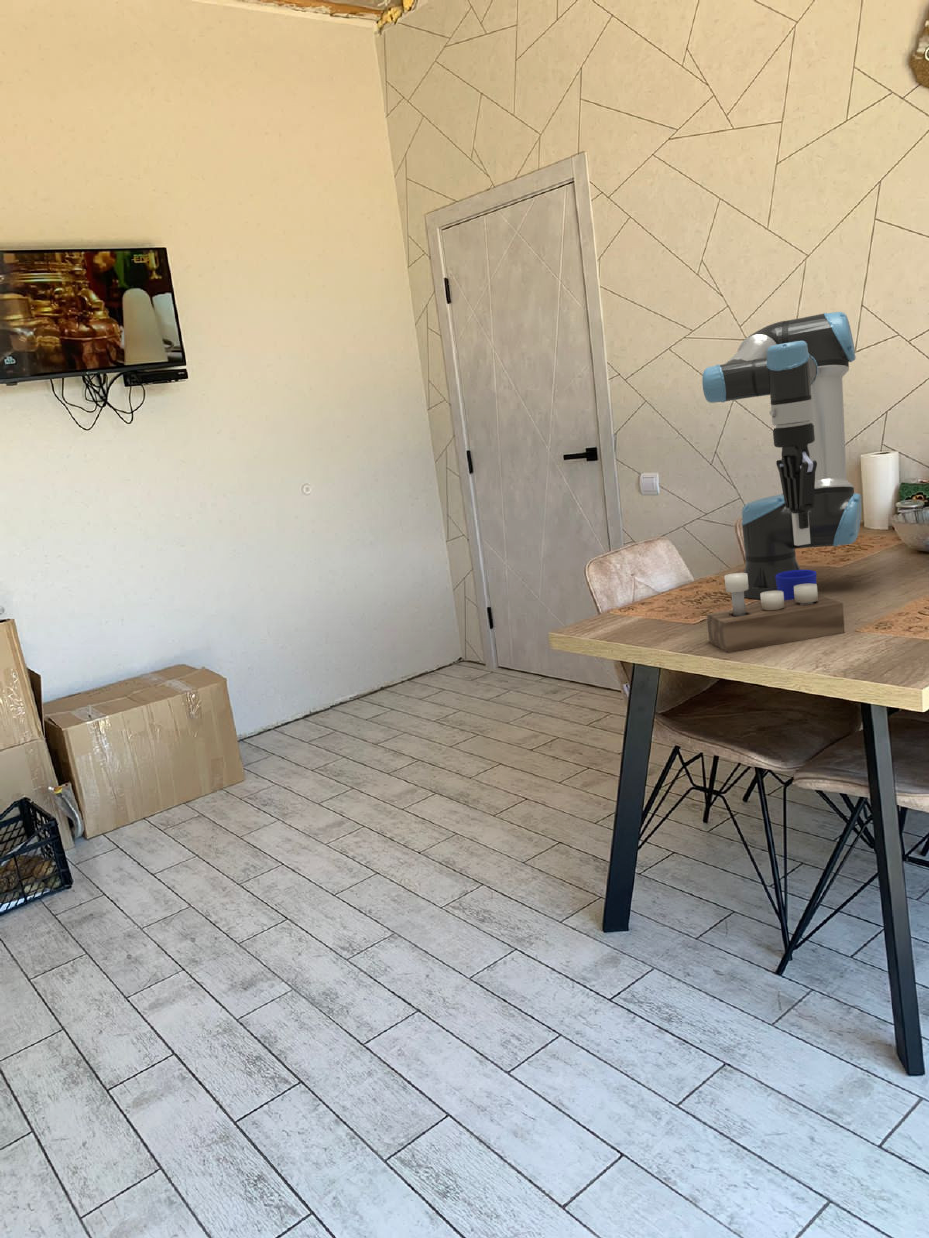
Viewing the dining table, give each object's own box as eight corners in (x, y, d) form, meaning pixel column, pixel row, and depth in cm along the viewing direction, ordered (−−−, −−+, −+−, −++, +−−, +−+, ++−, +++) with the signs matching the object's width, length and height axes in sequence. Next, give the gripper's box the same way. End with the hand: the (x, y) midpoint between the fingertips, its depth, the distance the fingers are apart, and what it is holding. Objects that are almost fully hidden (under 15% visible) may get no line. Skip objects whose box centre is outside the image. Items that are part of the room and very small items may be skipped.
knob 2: (760, 634, 191) (756, 593, 189) (781, 630, 191) (777, 589, 189) (769, 638, 186) (765, 596, 185) (790, 634, 187) (787, 592, 185)
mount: (709, 641, 193) (706, 613, 192) (820, 622, 194) (818, 594, 193) (727, 652, 183) (724, 623, 182) (844, 632, 185) (842, 603, 183)
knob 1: (725, 616, 189) (721, 575, 187) (746, 613, 189) (742, 571, 188) (733, 620, 185) (729, 578, 183) (754, 617, 185) (750, 574, 183)
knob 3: (793, 627, 191) (789, 586, 189) (813, 623, 191) (810, 582, 190) (802, 631, 187) (799, 589, 185) (824, 627, 187) (820, 585, 185)
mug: (819, 609, 206) (815, 565, 204) (820, 622, 195) (816, 575, 193) (779, 612, 209) (776, 568, 207) (778, 625, 198) (774, 579, 196)
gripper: (760, 427, 187) (770, 543, 192) (788, 427, 174) (798, 551, 179) (796, 421, 187) (805, 537, 193) (827, 421, 175) (836, 545, 180)
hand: (802, 544), depth 186 cm, fingers closed
